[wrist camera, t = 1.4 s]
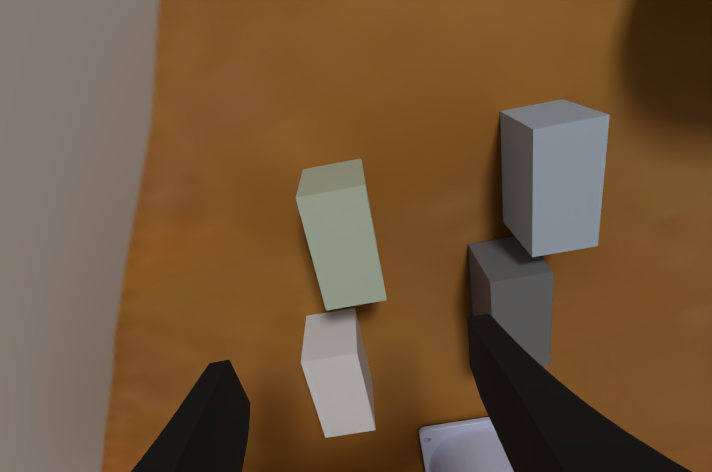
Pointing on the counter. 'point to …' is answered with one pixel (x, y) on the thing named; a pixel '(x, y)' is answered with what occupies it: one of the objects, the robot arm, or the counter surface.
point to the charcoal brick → (514, 292)
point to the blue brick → (553, 175)
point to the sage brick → (341, 234)
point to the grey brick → (338, 373)
